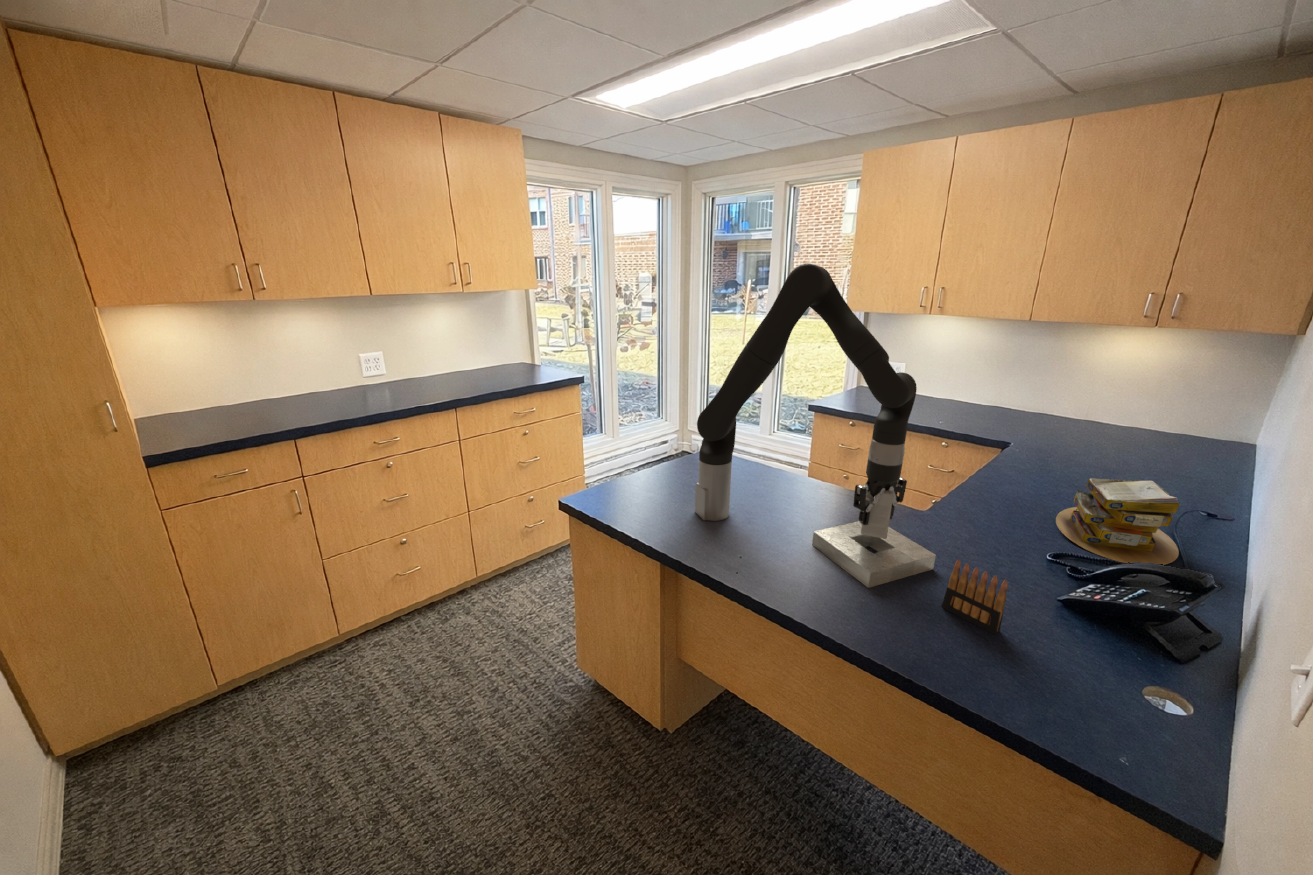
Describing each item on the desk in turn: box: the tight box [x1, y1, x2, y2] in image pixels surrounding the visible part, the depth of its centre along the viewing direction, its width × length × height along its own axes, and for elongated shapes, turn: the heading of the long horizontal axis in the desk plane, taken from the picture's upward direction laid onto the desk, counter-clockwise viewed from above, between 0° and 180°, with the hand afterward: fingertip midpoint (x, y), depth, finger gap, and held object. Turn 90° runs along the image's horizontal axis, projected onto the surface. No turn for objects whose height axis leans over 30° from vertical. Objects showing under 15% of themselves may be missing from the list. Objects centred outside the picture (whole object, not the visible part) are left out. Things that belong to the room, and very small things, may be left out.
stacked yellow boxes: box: [1055, 477, 1181, 566], centre depth 133 cm, size 25×25×17 cm
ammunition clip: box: [941, 559, 1009, 635], centre depth 104 cm, size 11×2×12 cm, turn 36°
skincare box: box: [861, 490, 894, 539], centre depth 124 cm, size 6×4×12 cm
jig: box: [811, 520, 937, 589], centre depth 128 cm, size 20×20×4 cm
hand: (875, 520), depth 125 cm, fingers closed on skincare box, 7 cm apart
